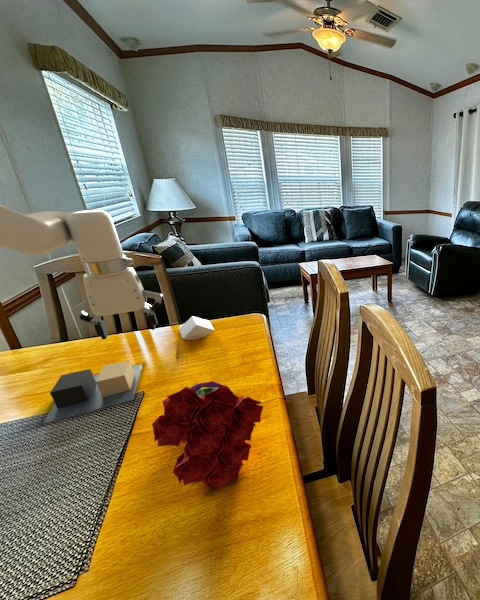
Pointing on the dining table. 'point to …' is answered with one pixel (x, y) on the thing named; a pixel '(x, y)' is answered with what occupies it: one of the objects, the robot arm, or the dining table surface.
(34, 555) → the dining table surface
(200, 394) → the bouquet
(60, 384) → the back pad left
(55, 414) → the board
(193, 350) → the dining table surface
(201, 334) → the wedge on round base
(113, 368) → the loose pad
